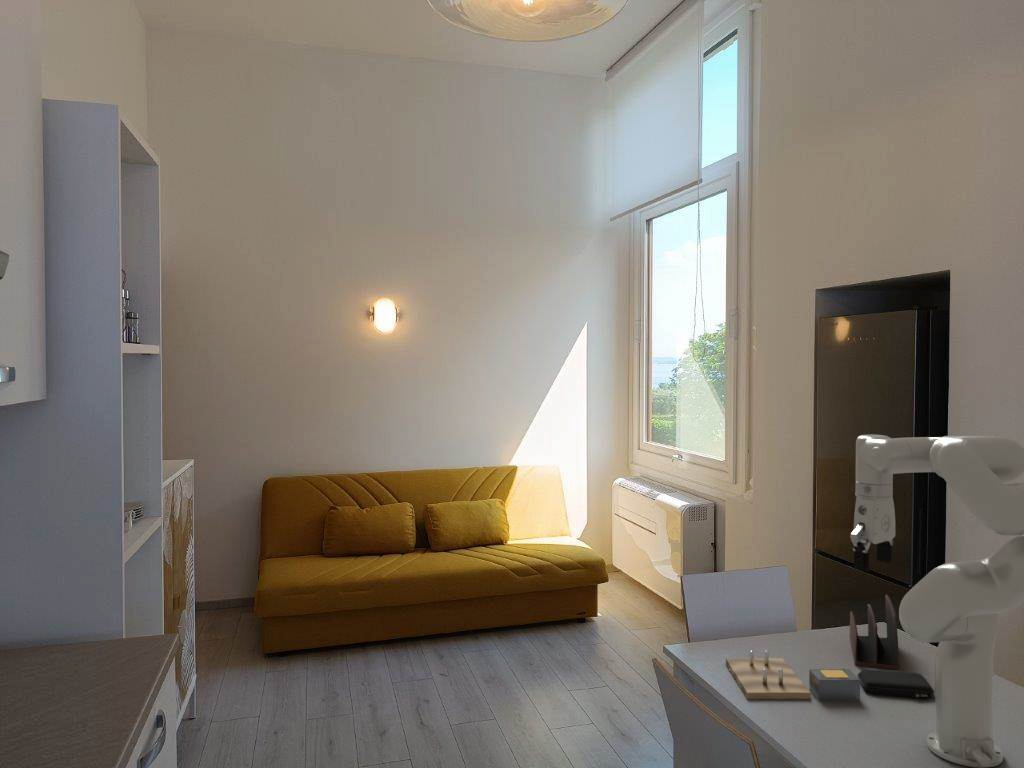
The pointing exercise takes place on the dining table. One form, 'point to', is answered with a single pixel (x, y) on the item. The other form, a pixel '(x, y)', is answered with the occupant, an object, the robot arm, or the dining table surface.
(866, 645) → the letter holder
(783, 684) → the tray
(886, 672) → the carrying case or bag
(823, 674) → the block
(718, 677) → the dining table surface
